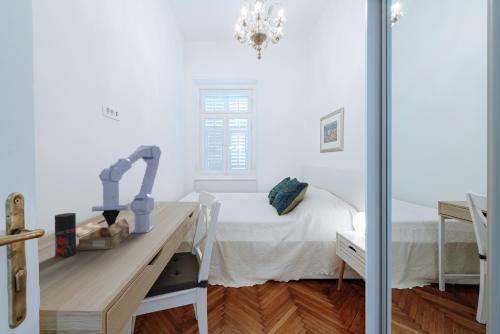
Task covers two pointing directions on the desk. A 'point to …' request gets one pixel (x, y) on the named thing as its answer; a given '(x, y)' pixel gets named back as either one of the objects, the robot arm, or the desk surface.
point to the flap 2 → (117, 227)
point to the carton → (102, 239)
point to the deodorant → (65, 235)
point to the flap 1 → (87, 229)
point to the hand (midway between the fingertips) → (111, 227)
